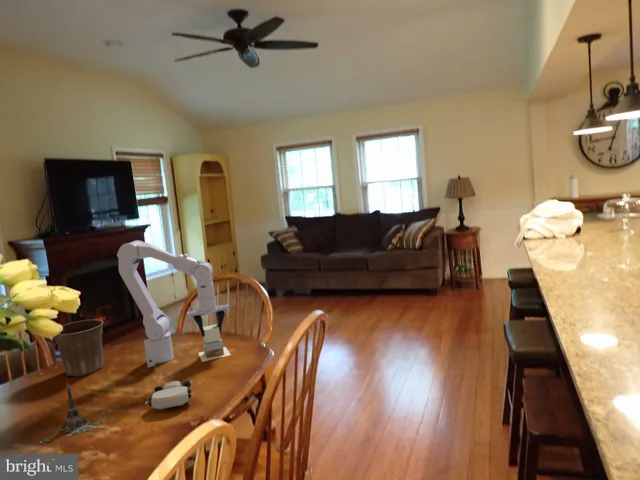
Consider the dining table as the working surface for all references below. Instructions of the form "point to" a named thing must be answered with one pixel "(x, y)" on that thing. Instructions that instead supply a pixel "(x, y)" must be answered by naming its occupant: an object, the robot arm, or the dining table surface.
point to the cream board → (204, 358)
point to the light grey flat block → (213, 345)
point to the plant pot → (81, 347)
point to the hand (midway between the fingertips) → (211, 333)
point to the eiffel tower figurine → (75, 420)
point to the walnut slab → (214, 352)
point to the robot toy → (170, 395)
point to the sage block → (211, 333)
